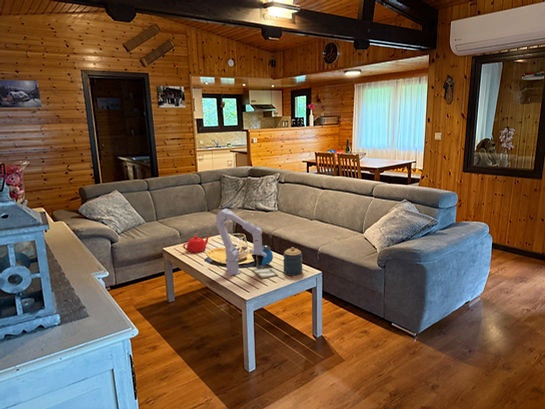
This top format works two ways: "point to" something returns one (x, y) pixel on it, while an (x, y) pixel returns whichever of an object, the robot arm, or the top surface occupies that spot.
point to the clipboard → (264, 273)
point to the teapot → (196, 244)
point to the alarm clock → (269, 255)
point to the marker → (257, 262)
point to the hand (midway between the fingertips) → (258, 264)
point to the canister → (292, 261)
